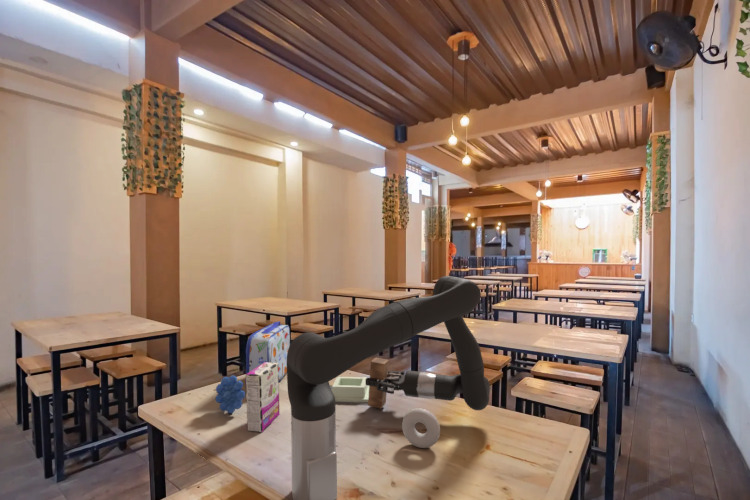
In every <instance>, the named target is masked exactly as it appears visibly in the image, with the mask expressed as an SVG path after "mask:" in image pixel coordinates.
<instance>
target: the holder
mask: <svg viewBox="0 0 750 500" xmlns="http://www.w3.org/2000/svg"><path fill="white" fill-rule="evenodd" d="M366 378H369V377H367V376H366V377H365V376H364V377H362V376H337V377H336V378H335V380H334V382H333V384H332V392H333V394H334V397H335V402H365V403H368V398H369V386H368V385H366Z"/></svg>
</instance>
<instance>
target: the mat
mask: <svg viewBox="0 0 750 500" xmlns="http://www.w3.org/2000/svg"><path fill="white" fill-rule="evenodd" d="M329 385H330V388H331V390H332V386H333V384H332V385H331V384H329ZM335 405H338V406H339V405H341V406H342V405H343V406H368V403H365V402H335Z"/></svg>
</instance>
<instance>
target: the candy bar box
mask: <svg viewBox="0 0 750 500" xmlns="http://www.w3.org/2000/svg"><path fill="white" fill-rule="evenodd" d="M245 378H246V384H245V397H246V427H247V428H246V429H247V430H246V431H247V432H251V433H253V432H255V433H263V432H264V431H265V430H267V428H268V427H269V426H271V424H272V423H273V422H274V421H275V420H276V419H277V418H278V417H279V416H280V415H281V413H280V387H279V386H280V381H279V378H278V363H273V362H264V363H263V364H261V365H260V366H258V367H257V368H255V369H254V370H252V371H250V372H249V373H247V374H246V373H245Z"/></svg>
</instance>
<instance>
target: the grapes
mask: <svg viewBox="0 0 750 500" xmlns="http://www.w3.org/2000/svg"><path fill="white" fill-rule="evenodd" d="M243 386H244V383H243V381H242V380H238V378H237V376H236V375H231V376H229V377H228V376H223V377H222V378H221V380H220V383H218V384H217V386H216V387H215V391H216V393H217V395H216V396H215V402H216V403H217V404H219V410H220V411H221V412H224V411H226V412H227V413H228V414H233V413H235V411H236V410H239V409H240V408H242V405H243V400H244V398H245V397H246V391H244V390H242V389H243V388H244V387H243Z"/></svg>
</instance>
